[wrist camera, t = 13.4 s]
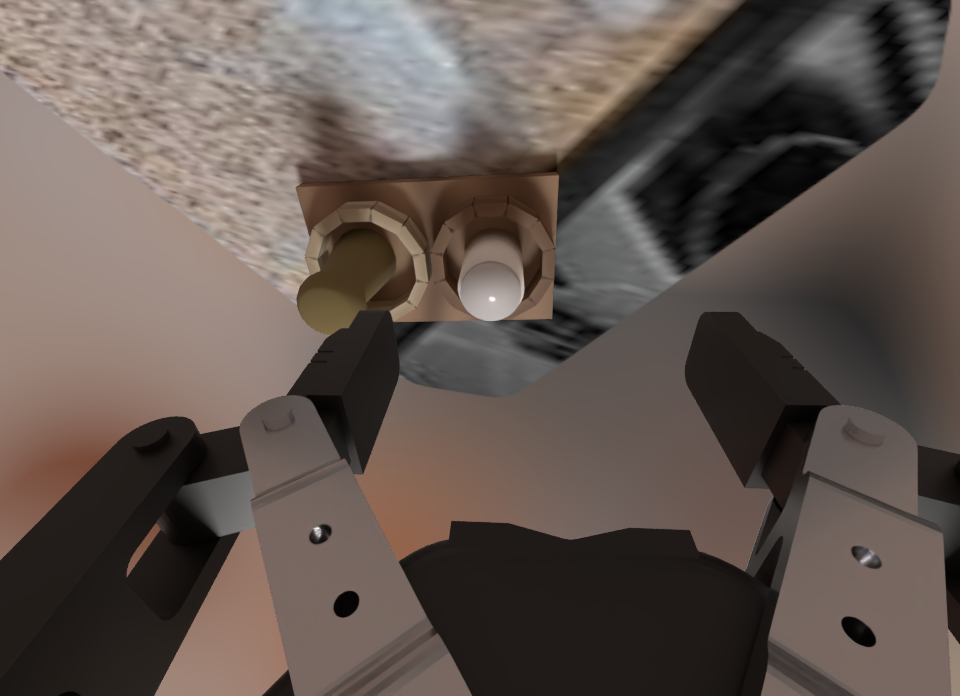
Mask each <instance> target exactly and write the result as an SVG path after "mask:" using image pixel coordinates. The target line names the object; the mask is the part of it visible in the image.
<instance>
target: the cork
mask: <svg viewBox="0 0 960 696" xmlns="http://www.w3.org/2000/svg"><path fill="white" fill-rule="evenodd" d="M395 269H396V257H395V253H394V250H393V248H392V247H391V245H390V244H389V242H388V241H387V240H386V239H385V238H384V237H382V236H381V235H380V234H378V233H376V232H374V231H372V230H369V229H363V228H358V229H352V230H349V231H348V232H346V233H344V234H343V235H342V236H341V237H340V238H339V239H338V241H337V243H336V244H335V246H334V248H333V250H332V252H331V254H330V256H329V257H328V259H327V261H326V263H325V265H324V267H323V269H322V271H319V272H316V273H314V274H313V275H311V276H309V277H308V278H307V279H306V280H305V281H304V282H303V284H302V285H301V286H300V288H299V292H298V295H297V307H298V310H299V312H300V315H301V317H302V319H303V320H304V321H305V322H306V323H307V324H308V325H309V326H310V327H311V328H313V329H314V330H316V331H318V332H320V333H323V334H328V335H332V334H333V333H335V332H336V331H338V330H339V329H340V328H349V326H350V325H351V323H352V322H353V320H354V318H355V317H356V315H357V314H358V312H359V311H360V310H366V303H367V302H368V301H369V300H370V299H371V298H372V297H373V296H374V295H375V294H376V293H377V292H378V291H379V290H380V289H381V288H382V287H383V286H384V285H385V284H386V283H387V282H388V281H389V280H390V279H391V278H392V276H393V274H394V272H395Z"/></svg>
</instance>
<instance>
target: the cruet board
mask: <svg viewBox="0 0 960 696" xmlns="http://www.w3.org/2000/svg"><path fill="white" fill-rule="evenodd" d="M558 180H559V175H558V173H557V172H542V173H520V174H498V175H476V176H455V177H433V178H411V179H389V180H368V181H346V182H324V183H302V184H301V185H299V186H297V187H296V190H297V194H298V197H299V201H300V204H301V208H302V211H303V215H304V218H305V222H306V225H307V229H308V232H309V236H310V239H309V243H308V247H307V250H306V254H305V256H306V257H305V259H306V262H307V266H308V269H309V272H310V276H311V275H313V274H314V273H316V272H319V271H322V269H323V267H324V265H325V263H326V261H327V259H328V257H329V256H330V254H331V252H332V250H333V248H334V246H335V244H336V243H337V241H338V239H339V238H340V237H341V236H342V235H343V234H344V233H346V232H348V231H349V230H352V229H358V228H363V229H369V230H372V231H374V232H376V233H378V234H380V235H381V236H382V237H384V238H385V239H386V240H387V241H388V242H389V244H390V245H391V247H392V248H393V250H394V253H395V257H396V269H395V272H394V274H393V276H392V278H391V279H390V280H389V281H388V282H387V283H386V284H385V285H384V286H383V287H382V288H381V289H380V290H379V291H378V292H377V293H376V294H375V295H374V296H373V297H372V298H371V299H370V300H369V301H368V302H367V303H366V310H388V311H390V313H391V316H392V320H393V322H414V321H466V320H481V319H478V318H476V317H474V316H473V315H471V314H470V313H469V312H468V311H467V310H466V309H465V307H464V306H463V303H462V302H461V299H460V297H459V294H458V281H459V277H460V272H461V268H462V264H463V259H464V255H465V251H466V247H467V244H468V242H469V241H470V239H471V238H472V237H473V236H474V235H475V234H476V233H478V232H480V231H482V230H484V229H488V228H498V229H503V230H505V231H507V232H509V233H511V234H512V235H513V236H514V237H515V238H516V239H517V241H518V242H519V244H520V247H521V251H522V262H523V275H524V295H523V298H522V301H521V302H520V304H519V305H518V307H517V308H516V310H515V311H514V312H513V313H512V314H511V315H509V316H508V317H506V318H504V319H501V320H517V319H552V306H553V285H554V270H555V243H556V222H557V201H558Z"/></svg>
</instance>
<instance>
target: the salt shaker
mask: <svg viewBox="0 0 960 696" xmlns="http://www.w3.org/2000/svg"><path fill="white" fill-rule="evenodd" d="M458 294H459V297H460V299H461V302H462V303H463V306H464V307H465V309H466V310H467V311H468V312H469V313H470V314H471V315H473V316H474V317H476V318H478V319H481V320H485V321H497V320H501V319H504V318H506V317H508V316H509V315H511V314H512V313H513V312H514V311H515V310H516V308H517V307H518V305H519V304H520V302H521V301H522V298H523V295H524V275H523V262H522V251H521V247H520V244H519V242H518V241H517V239H516V238H515V237H514V236H513V235H512V234H511V233H509V232H507V231H505V230H503V229H498V228H488V229H484V230H482V231H480V232H478V233H476V234H475V235H474V236H473V237H472V238H471V239H470V241H469V242H468V244H467V247H466V251H465V255H464V259H463V264H462V268H461V272H460V277H459V281H458Z"/></svg>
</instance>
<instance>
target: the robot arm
mask: <svg viewBox="0 0 960 696" xmlns="http://www.w3.org/2000/svg"><path fill="white" fill-rule="evenodd" d="M398 377H399V355H398V349H397V343H396V337H395V331H394V326H393V320H392V316H391V313H390V311H388V310H360V311H359V312H358V314H357V315H356V317H355V318H354V320H353V322H352V323H351V325H350V326H349V328H340V329H339V330H338V331H336V332H335V333H333V334H332V335H330V336H329V337H328V338H326V340H325V341H324V342H323V344H322V345H321V346H320V348H319V349H318V353H316V354H315V355H314V357H313V358H312V359H311V363H309V364H308V365H307V367H306V368H305V369H304V371H303V372H302V374H301V375H300V377H299V378H298V379H297V381H296V382H295V384H294V385H293V387H292V388H291V389H290V391H289V392H288V394H287V395H286V396H281V397H277V398H273V399H271V400H268V401H266V402H264V403H262V404H260V405H258V406H257V407H255V408H254V409H252V410H251V411H250V412H249V413H248V414H247V415H246V416H245V417H244V419H243V420H242V422H241V424H240V426H238V427H233V428H229V429H224V430H219V431H214V432H209V433H204V434H200V433H199V431H198V429H197V428H196V426H195V424H194V422H193V421H192V420H191V419H188V418H186V417H177V416H176V417H167V418H162V419H158V420H155V421H152V422H149V423H147V424H144V425H142V426H140V427H138V428H136V429H135V430H133V431H131V432H130V433H128V434H127V435H125V436H124V437H123V438H121V439H120V440H119V441H118V442H117V443H116V444H115V445H114V446H113V447H112V448H111V449H110V450H109V451H108V452H107V453H106V454H105V455H104V456H103V457H102V458H101V459H100V460H99V461H98V462H97V464H95V465H94V466H93V467H92V468H91V469H90V470H89V471H88V472H87V473H86V474H85V475H84V476H83V477H82V478H81V479H80V481H78V482H77V484H75V485H74V487H72V489H71V490H70V491H69V492H68V493H67V494H66V495H65V496H64V497H63V498H62V499H61V500H60V501H59V502H58V503H57V504H56V505H55V506H54V507H53V508H52V509H51V510H50V511H49V512H48V513H47V514H46V515H45V516H44V517H43V518H42V519H41V520H40V521H39V522H38V523H37V524H36V525H35V526H34V527H33V528H32V529H31V530H30V531H29V532H28V533H27V534H26V535H25V536H24V537H23V538H22V539H21V540H20V541H19V542H18V543H17V544H16V545H15V546H14V547H13V548H12V549H11V550H10V551H9V553H7V554H6V555H5V556H4V557H3V558H2V559H1V560H0V696H154V695H155V693H156V691H157V689H158V687H159V685H160V683H161V681H162V680H163V678H164V676H165V674H166V672H167V670H168V668H169V666H170V664H171V662H172V661H173V659H174V657H175V655H176V653H177V651H178V649H179V647H180V645H181V643H182V642H183V640H184V638H185V636H186V634H187V632H188V630H189V628H190V626H191V624H192V622H193V621H194V619H195V617H196V615H197V613H198V611H199V609H200V607H201V605H202V603H203V602H204V600H205V598H206V596H207V594H208V592H209V590H210V588H211V586H212V585H213V583H214V580H215V579H216V577H217V575H218V573H219V571H220V569H221V567H222V565H223V564H224V562H225V560H226V558H227V556H228V554H229V552H230V550H231V548H232V546H233V545H234V543H235V541H236V539H237V537H238V535H239V533H240V531H244V530H247V529H252V528H256V530H257V535H258V539H259V543H260V548H261V551H262V556H263V561H264V565H265V569H266V574H267V578H268V582H269V586H270V591H271V595H272V599H273V604H274V608H275V613H276V617H277V621H278V626H279V630H280V634H281V638H282V642H283V647H284V651H285V656H286V660H287V665H288V668H289V669H288V670H287V671H286V672H285V673H284V674H283V675H282V676H281V677H280V678H279V679H278V680H277V681H276V682H275V683H274V684H273V685H272V686H271V687H270V688H269V689H268V690H267V691H266V692H265V693H264V694H263V695H262V696H951V679H950V660H949V642H948V641H949V640H948V629H949V630H950V632H951V633H952V634H953V636H954V637H955V638H956V640H957V641H958V642H959V644H960V454H955V453H950V452H946V451H942V450H937V449H932V448H928V447H923V446H918V445H917V444H916V442H915V440H914V439H913V438H912V436H911V435H910V434H909V433H908V432H907V431H906V430H904V429H903V428H902V427H900V426H899V425H898V424H896V423H894V422H893V421H891V420H889V419H887V418H885V417H883V416H881V415H879V414H877V413H874V412H871V411H869V410H865V409H861V408H857V407H853V406H846V405H841V404H840V403H839V402H838V401H837V400H836V399H835V398H834V397H833V396H832V395H831V394H830V393H829V392H828V391H827V390H826V389H825V388H824V387H823V386H822V385H821V384H820V383H819V382H818V381H817V380H816V379H815V378H814V377H813V376H812V375H811V374H810V373H809V372H808V371H807V370H804V367H803V366H802V365H801V364H800V363H799V362H798V361H797V360H796V359H793V356H792V355H791V354H790V353H789V352H788V351H787V350H786V349H785V348H784V347H783V346H782V345H781V344H780V343H779V342H777V341H775V340H774V339H772V338H770V337H768V336H767V335H765V334H763V333H761V332H757V331H756V330H755V329H754V328H753V327H752V326H751V325H750V323H749V322H748V321H747V320H746V319H745V318H744V317H743V316H742V315H741V314H740V313H738V312H705V313H703V314H702V315H701V316H700V319H699V321H698V323H697V327H696V330H695V334H694V337H693V340H692V344H691V347H690V350H689V354H688V357H687V361H686V365H685V378H686V383H687V386H688V388H689V390H690V391H691V393H692V395H693V397H694V398H695V400H696V402H697V404H698V406H699V407H700V409H701V411H702V413H703V415H704V416H705V418H706V420H707V422H708V423H709V425H710V427H711V429H712V431H713V432H714V434H715V436H716V438H717V439H718V441H719V443H720V445H721V447H722V448H723V450H724V452H725V454H726V455H727V457H728V459H729V461H730V463H731V464H732V466H733V468H734V470H735V471H736V473H737V475H738V477H739V478H740V480H741V482H742V484H743V486H744V487H745V488H764V489H770V490H771V492H772V494H773V497H772V498H771V500H770V502H769V504H768V506H767V508H766V511H765V515H764V518H763V521H762V523H761V526H760V530H759V533H758V535H757V538H756V542H755V544H754V547H753V550H752V553H751V556H750V559H749V562H748V565H747V568H746V570H745V572H744V571H743V570H741V569H739V568H737V567H736V566H734V565H732V564H730V563H728V562H725V561H723V560H721V559H719V558H717V557H714V556H711V555H708V554H706V553H703V552H699V551H698V550H697V548H696V545H695V543H694V540H693V537H692V535H691V532H690V531H689V530H671V529H669V530H668V529H644V528H627V529H622V530H617V531H613V532H608V533H603V534H598V535H594V536H589V537H584V538H580V539H574V540H568V539H563V538H559V537H556V536H552V535H549V534H545V533H541V532H538V531H534V530H530V529H527V528H524V527H520V526H516V525H513V524H509V523H490V522H464V521H452V522H451V529H450V536H449V539H448V540H444V541H440V542H437V543H434V544H431V545H428V546H425V547H423V548H421V549H419V550H417V551H415V552H413V553H411V554H410V555H408V556H406V557H405V558H403V559H402V560H400V561H399V562H398V560H397V558H396V556H395V554H394V552H393V550H392V548H391V546H390V544H389V542H388V541H387V538H386V536H385V534H384V532H383V531H382V529H381V527H380V525H379V523H378V521H377V519H376V517H375V515H374V513H373V511H372V509H371V507H370V505H369V503H368V501H367V499H366V498H365V496H364V494H363V492H362V490H361V488H360V486H359V484H358V482H357V480H356V478H355V476H354V474H363V473H364V470H365V468H366V465H367V463H368V460H369V457H370V454H371V451H372V449H373V446H374V444H375V441H376V438H377V435H378V433H379V430H380V427H381V425H382V422H383V419H384V416H385V414H386V411H387V409H388V406H389V403H390V400H391V398H392V395H393V392H394V389H395V387H396V384H397V381H398ZM155 523H156V524H157V525H158V526H159V527H160V529H161V530H160V531H159V533H158V534H157V536H156V537H155V538H154V540H153V541H152V543H151V544H150V546H149V547H148V548H147V550H146V551H145V553H144V554H143V555H142V557H141V558H140V560H139V561H138V562H137V564H136V565H135V567H134V568H133V570H132V571H131V572H130V574H129V575H128V577H127V576H126V575H127V568H128V564H129V562H130V559H131V557H132V555H133V554H134V552H135V551H136V549H137V548H138V547H139V545H140V544H141V542H142V541H143V540H144V538H145V537H146V536H147V534H148V533H149V531H150V530H151V529H152V527H153V526H154V525H155Z"/></svg>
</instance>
